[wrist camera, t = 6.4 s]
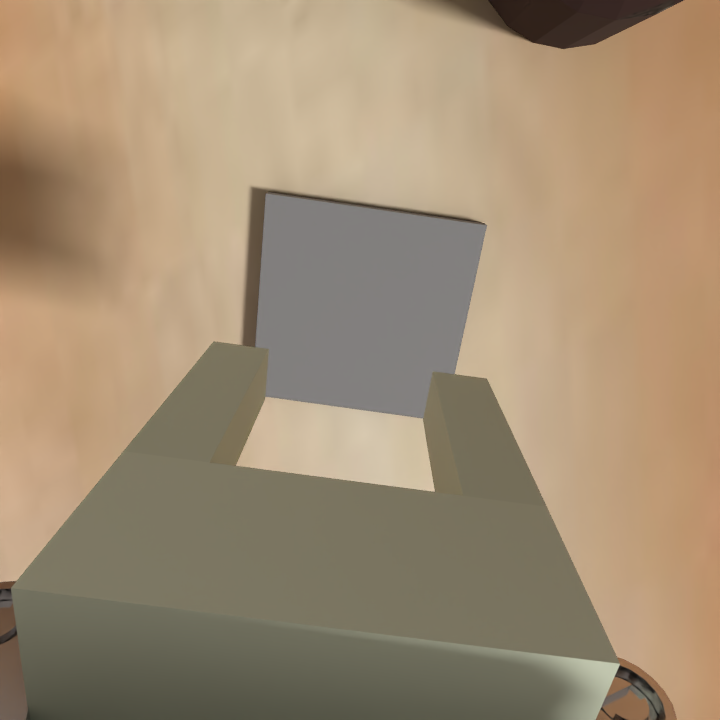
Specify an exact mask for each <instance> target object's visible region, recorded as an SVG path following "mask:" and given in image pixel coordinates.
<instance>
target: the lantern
mask: <svg viewBox="0 0 720 720" xmlns="http://www.w3.org/2000/svg"><path fill="white" fill-rule="evenodd" d="M489 1H490V3H491V4H492V5H493V7H494V8H495V9H496V11H497V12H498V13H499V15H500V16H501V18H502V19H503V20H504V22H505V23H506V24H507V26H509V27H510V28H512V29H513V30H515V31H516V32H518V33H520V34H521V35H523V36H524V37H526V38H527V39H529V40H530V41H532V42H533V43H538V44H543V45H547V46H552V47H557V48H562V49H566V48H572V47H579V46H585V45H592V44H596V43H598V42H600V41H602V40H604V39H606V38H608V37H610V36H612V35H615V34H617V33H619V32H621V31H623V30H625V29H627V28H629V27H631V26H633V25H635V24H637V23H639V22H641V21H643V20H645V19H647V18H649V17H652V16H654V15H656V14H658V13H660V12H662V11H664V10H666V9H668V8H670V7H672V6H673V5H675V4H677V3H679V2H681V1H683V0H489Z"/></svg>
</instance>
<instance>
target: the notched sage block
mask: <svg viewBox="0 0 720 720" xmlns="http://www.w3.org/2000/svg"><path fill="white" fill-rule="evenodd" d="M268 355H269V349H265V348H258V347H250V346H243V345H236V344H228V343H221V342H213V343H212V344H211V346H210V347H209V348H208V349H207V350H206V352H205V353H204V354H203V355H202V356H201V358H200V359H199V360H198V361H197V363H196V364H195V365H194V366H193V367H192V369H191V370H190V371H189V372H188V374H187V375H186V376H185V377H184V378H183V380H182V381H181V382H180V383H179V384H178V386H177V387H176V388H175V389H174V391H173V392H172V393H171V394H170V395H169V397H168V398H167V399H166V400H165V401H164V403H163V404H162V405H161V406H160V408H159V409H158V410H157V411H156V412H155V414H154V415H153V416H152V417H151V418H150V420H149V421H148V422H147V423H146V425H145V426H144V427H143V428H142V429H141V431H140V432H139V433H138V434H137V435H136V437H135V438H134V439H133V440H132V442H131V443H130V444H129V445H128V446H127V448H126V449H125V450H124V451H123V452H122V454H121V455H120V456H119V457H118V459H117V460H116V461H115V462H114V463H113V465H112V466H111V467H110V468H109V469H108V471H107V472H106V473H105V474H104V476H103V477H102V478H101V479H100V480H99V482H98V483H97V484H96V485H95V486H94V488H93V489H92V490H91V491H90V493H89V494H88V495H87V496H86V497H85V499H84V500H83V501H82V502H81V503H80V505H79V506H78V507H77V508H76V510H75V511H74V512H73V513H72V514H71V516H70V517H69V518H68V519H67V521H66V522H65V523H64V524H63V525H62V527H61V528H60V529H59V530H58V531H57V533H56V534H55V535H54V536H53V538H52V539H51V540H50V541H49V542H48V544H47V545H46V546H45V547H44V548H43V550H42V551H41V552H40V553H39V555H38V556H37V557H36V558H35V559H34V561H33V562H32V563H31V564H30V565H29V567H28V568H27V569H26V570H25V572H24V573H23V574H22V575H21V576H20V578H19V579H18V580H17V581H16V582H15V584H14V585H13V586H12V587H11V592H12V599H13V607H14V614H15V621H16V628H17V635H18V642H19V650H20V657H21V664H22V671H23V678H24V686H25V693H26V700H27V706H29V712H30V720H596V718H597V715H598V713H599V711H600V709H601V706H602V704H603V702H604V700H605V697H606V695H607V693H608V690H609V688H610V686H611V684H612V681H613V679H614V677H615V675H616V672H617V670H618V668H619V665H620V663H619V660H618V658H617V656H616V654H615V652H614V650H613V648H612V645H611V643H610V641H609V639H608V637H607V635H606V633H605V630H604V628H603V626H602V624H601V622H600V620H599V618H598V615H597V613H596V611H595V609H594V607H593V605H592V603H591V600H590V598H589V596H588V594H587V592H586V590H585V588H584V585H583V583H582V581H581V579H580V577H579V575H578V573H577V571H576V568H575V566H574V564H573V562H572V560H571V558H570V556H569V553H568V551H567V549H566V547H565V545H564V543H563V541H562V538H561V536H560V534H559V532H558V530H557V528H556V526H555V523H554V521H553V519H552V517H551V515H550V513H549V511H548V508H547V506H546V504H545V502H544V500H543V498H542V496H541V493H540V491H539V489H538V487H537V485H536V483H535V481H534V479H533V476H532V474H531V472H530V470H529V468H528V466H527V464H526V461H525V459H524V457H523V455H522V453H521V451H520V449H519V446H518V444H517V442H516V440H515V438H514V436H513V434H512V431H511V429H510V427H509V425H508V423H507V421H506V419H505V416H504V414H503V412H502V410H501V408H500V406H499V404H498V401H497V399H496V397H495V395H494V393H493V391H492V389H491V387H490V384H489V382H488V380H487V379H485V378H478V377H471V376H463V375H456V374H449V373H441V372H434V371H433V373H432V378H431V383H430V388H429V392H428V397H427V402H426V407H425V412H424V417H423V422H424V428H425V434H426V440H427V446H428V452H429V458H430V464H431V470H432V476H433V482H434V488H435V492H431V491H423V490H416V489H408V488H400V487H393V486H385V485H378V484H370V483H362V482H355V481H347V480H339V479H332V478H324V477H316V476H309V475H301V474H294V473H286V472H278V471H271V470H263V469H255V468H248V467H240V466H236V464H237V461H238V459H239V457H240V455H241V452H242V450H243V448H244V445H245V443H246V441H247V439H248V436H249V434H250V432H251V430H252V427H253V425H254V423H255V420H256V418H257V416H258V414H259V411H260V409H261V407H262V404H263V402H264V400H265V394H266V381H267V368H268Z"/></svg>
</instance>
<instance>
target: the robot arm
mask: <svg viewBox="0 0 720 720" xmlns="http://www.w3.org/2000/svg"><path fill="white" fill-rule="evenodd" d="M15 582H16V581H10V582H0V720H30V712H29V706H27V700H26V693H25V686H24V678H23V671H22V664H21V657H20V650H19V642H18V635H17V628H16V621H15V614H14V607H13V599H12V592H11V587H12V586H13V585H14V584H15ZM617 658H618V657H617ZM618 660H619V663H620V665H619V668H618V670H617V672H616V675H615V677H614V679H613V681H612V684H611V686H610V688H609V690H608V693H607V695H606V697H605V700H604V702H603V704H602V706H601V709H600V711H599V713H598V715H597V718H596V720H677V718H676V714H675V711H674V708H673V705H672V703H671V701H670V700H669V698H668V696H667V695H666V693H665V691H664V690H663V689H662V688H661V687H660V686H659V685H658V683H657V682H656V681H655V680H654V679H653V678H652V677H651V676H649V675H648V674H647V673H646V672H644V671H643V670H642V669H640V668H639V667H637V666H636V665H634V664H632V663H630V662H628V661H626V660H624V659H621V658H618Z"/></svg>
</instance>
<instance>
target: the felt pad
mask: <svg viewBox="0 0 720 720" xmlns="http://www.w3.org/2000/svg"><path fill="white" fill-rule="evenodd" d="M486 227H487V225H486V224H484V223H479V222H472V221H466V220H459V219H452V218H445V217H438V216H431V215H424V214H417V213H410V212H403V211H396V210H389V209H383V208H376V207H369V206H362V205H355V204H348V203H341V202H334V201H327V200H320V199H313V198H306V197H300V196H293V195H286V194H279V193H272V192H268V193H266V198H265V212H264V227H263V241H262V256H261V270H260V285H259V299H258V314H257V328H256V343H255V347H258V348H265V349H269V355H268V368H267V381H266V394H265V397H272V398H280V399H287V400H294V401H301V402H308V403H316V404H323V405H330V406H337V407H345V408H352V409H359V410H366V411H373V412H381V413H388V414H395V415H402V416H410V417H417V418H423V417H424V412H425V407H426V402H427V397H428V392H429V388H430V383H431V378H432V373H433V371H434V372H441V373H449V374H455V369H456V365H457V360H458V356H459V351H460V346H461V342H462V337H463V333H464V328H465V323H466V319H467V314H468V310H469V305H470V300H471V296H472V291H473V287H474V282H475V277H476V273H477V268H478V264H479V259H480V254H481V250H482V245H483V241H484V236H485V231H486Z"/></svg>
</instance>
